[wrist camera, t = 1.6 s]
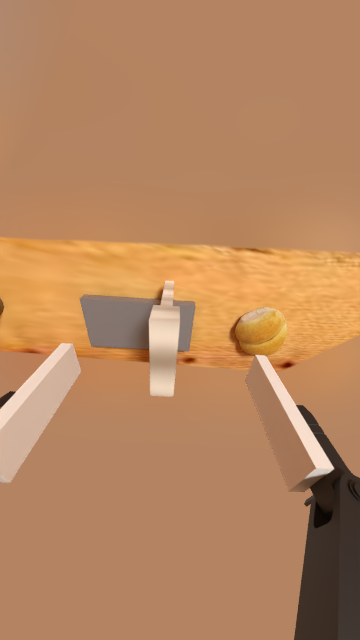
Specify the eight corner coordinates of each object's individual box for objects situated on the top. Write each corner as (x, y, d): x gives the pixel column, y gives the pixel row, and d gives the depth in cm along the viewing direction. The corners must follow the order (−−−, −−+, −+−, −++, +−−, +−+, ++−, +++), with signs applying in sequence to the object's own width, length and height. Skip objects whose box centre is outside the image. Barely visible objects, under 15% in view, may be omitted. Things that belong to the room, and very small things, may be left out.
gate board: (94, 340, 31) (91, 346, 30) (84, 294, 26) (79, 298, 25) (188, 345, 32) (189, 351, 31) (194, 301, 27) (195, 306, 26)
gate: (174, 348, 30) (172, 405, 21) (158, 347, 29) (150, 405, 20) (179, 281, 23) (179, 322, 14) (160, 280, 23) (148, 320, 14)
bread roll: (243, 354, 34) (250, 369, 30) (228, 318, 29) (234, 332, 26) (287, 338, 32) (300, 353, 28) (278, 298, 27) (292, 310, 24)
